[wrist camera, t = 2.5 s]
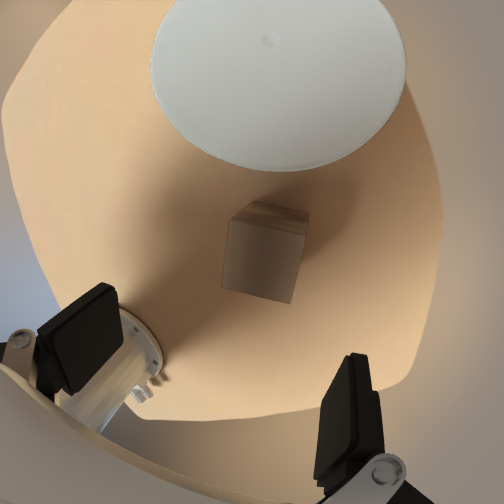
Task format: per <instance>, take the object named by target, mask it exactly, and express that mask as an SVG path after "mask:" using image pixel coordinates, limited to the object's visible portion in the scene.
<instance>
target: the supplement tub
mask: <svg viewBox="0 0 504 504" xmlns="http://www.w3.org/2000/svg"><path fill="white" fill-rule="evenodd" d="M150 69H151V80H152V86H153V90H154V93H155V96H156V99H157V101H158V103H159V106H160V108H161V110H162V111H163V113H164V115H165V116H166V118H167V119H168V120H169V122H170V123H171V124H172V126H173V127H174V128H175V129H176V130H177V131H178V132H179V133H180V134H181V135H182V136H183V137H184V138H185V139H187V140H188V141H189V142H191V143H192V144H193V145H195V146H196V147H197V148H199V149H201V150H202V151H204V152H206V153H208V154H210V155H212V156H214V157H216V158H219V159H221V160H223V161H226V162H229V163H232V164H235V165H238V166H241V167H245V168H249V169H254V170H260V171H270V172H292V171H301V170H307V169H313V168H317V167H321V166H324V165H327V164H329V163H332V162H335V161H337V160H339V159H341V158H343V157H345V156H347V155H349V154H351V153H352V152H354V151H355V150H357V149H358V148H360V147H361V146H362V145H364V144H365V143H366V142H367V141H368V140H369V139H371V138H372V137H373V136H374V135H375V134H376V133H377V132H378V131H379V130H380V129H381V127H382V126H383V125H384V124H385V123H386V122H387V120H388V119H389V117H390V116H391V115H392V113H393V112H394V110H395V108H396V106H397V104H398V102H399V100H400V97H401V94H402V91H403V88H404V83H405V78H406V53H405V48H404V44H403V40H402V37H401V34H400V31H399V29H398V27H397V25H396V23H395V21H394V19H393V17H392V16H391V15H390V13H389V11H388V10H387V9H386V7H385V6H384V5H383V4H382V3H381V1H380V0H178V1H177V2H176V3H175V4H174V5H173V6H172V8H171V9H170V10H169V12H168V13H167V15H166V16H165V18H164V20H163V21H162V23H161V25H160V27H159V29H158V31H157V34H156V37H155V40H154V44H153V48H152V54H151V64H150Z"/></svg>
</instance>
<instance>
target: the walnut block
mask: <svg viewBox="0 0 504 504" xmlns="http://www.w3.org/2000/svg"><path fill="white" fill-rule="evenodd" d="M308 216H309V213H306V212H302V211H297V210H292V209H288V208H283V207H278V206H273V205H269V204H264V203H259V202H251V203H250V204H249V205H248V206H246V207H245V208H244V209H243V210H241V211H240V212H239V213H237V214H236V215H235V216H234V217H232V218H231V219H230V220H229V227H228V234H227V242H226V250H225V259H224V267H223V276H222V284H221V287H222V288H226V289H230V290H234V291H238V292H242V293H246V294H250V295H254V296H258V297H262V298H266V299H270V300H274V301H279V302H283V303H287V304H290V302H291V298H292V294H293V290H294V286H295V282H296V278H297V274H298V270H299V266H300V262H301V258H302V254H303V249H304V245H305V241H306V236H307V226H308Z"/></svg>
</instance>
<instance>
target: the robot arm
mask: <svg viewBox="0 0 504 504" xmlns="http://www.w3.org/2000/svg"><path fill="white" fill-rule="evenodd" d="M37 332H38V336H37V337H36V336H35V333H34V332H33V331H32V330H29V329H20V330H17V331H15V332H14V333H13V334H11V336H10V337H9V339H8V341H7V342H3V343H0V504H290V503H284V502H278V501H273V500H268V499H263V498H257V497H253V496H249V495H245V494H241V493H237V492H233V491H229V490H225V489H222V488H218V487H215V486H212V485H208V484H205V483H202V482H199V481H197V480H194V479H191V478H188V477H185V476H183V475H180V474H178V473H175V472H173V471H170V470H168V469H165V468H163V467H160V466H158V465H156V464H154V463H151V462H150V461H147V460H145V459H143V458H141V457H139V456H137V455H135V454H133V453H131V452H129V451H127V450H125V449H124V448H122V447H120V446H118V445H116V444H114V443H113V442H111V441H109V440H108V439H106V438H104V437H102V436H101V435H99V434H100V433H101V431H102V430H103V429H104V427H105V426H106V424H107V423H108V422H109V420H110V419H111V418H112V416H113V415H114V414H115V412H116V411H117V410H118V408H119V407H120V405H121V404H122V403H123V402H124V400H125V399H126V397H127V396H128V395H129V393H131V394H132V396H133V397H134V399H135V400H136V401H137V402H138V403H142V402H144V401H145V400H146V399H147V398H151V397H152V396H153V392H152V391H151V389H150V388H149V387H148V386H147V382H146V381H147V380H148V379H150V378H153V377H155V376H156V375H157V374H158V373H159V372H160V370H161V368H162V366H163V356H162V352H161V349H160V347H159V345H158V343H157V341H156V339H155V338H154V336H153V335H152V333H151V332H150V331H149V330H148V329H147V328H146V326H145V325H144V324H143V323H142V322H140V321H139V320H138V319H137V318H136V317H134V316H133V315H132V314H130V313H128V312H127V311H125V310H123V309H120V308H119V303H118V295H117V292H116V291H115V288H114V287H113V286H111V285H109V284H106V283H104V282H101V283H99V284H98V285H96V286H95V287H94V288H92V289H91V290H89V291H88V292H87V293H85V294H84V295H82V296H81V297H80V298H78V299H77V300H76V301H74V302H73V303H71V304H70V305H69V306H67V307H66V308H65V309H63V310H62V311H61V312H60V313H58V314H57V315H56V316H54V317H53V318H52V319H50V320H49V321H48V322H46V323H45V324H44V325H42V326H41V327H40V328H39V329H37ZM313 477H314V480H317V487H324V495H325V496H324V497H323V498H322V499H321V500H319V501H318V502H317V503H316V504H434V503H433V502H432V501H431V500H429V499H428V498H427V497H425V496H424V495H423V494H422V493H420V492H419V491H418V490H417V489H416V488H414V487H413V486H412V485H411V484H409V483H408V482H407V481H406V480H405V478H406V466H405V464H404V462H403V461H402V460H401V459H400V458H399V457H397V456H396V455H394V454H389V453H385V449H384V435H383V424H382V415H381V406H380V399H379V394H378V392H377V391H373V390H372V384H371V376H370V369H369V363H368V357H367V355H364V354H358V353H351V354H350V356H347V355H346V356H345V358H344V360H343V362H342V364H341V366H340V368H339V370H338V372H337V373H336V375H335V377H334V379H333V381H332V383H331V385H330V387H329V389H328V390H327V392H326V394H325V396H324V398H323V400H322V403H321V409H320V421H319V432H318V442H317V451H316V459H315V468H314V476H313Z"/></svg>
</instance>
